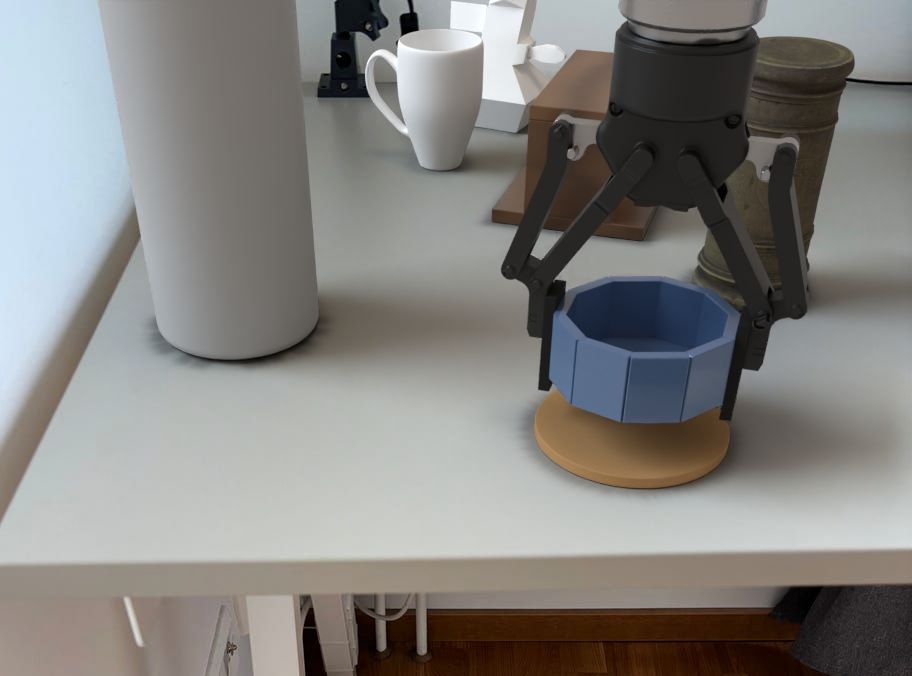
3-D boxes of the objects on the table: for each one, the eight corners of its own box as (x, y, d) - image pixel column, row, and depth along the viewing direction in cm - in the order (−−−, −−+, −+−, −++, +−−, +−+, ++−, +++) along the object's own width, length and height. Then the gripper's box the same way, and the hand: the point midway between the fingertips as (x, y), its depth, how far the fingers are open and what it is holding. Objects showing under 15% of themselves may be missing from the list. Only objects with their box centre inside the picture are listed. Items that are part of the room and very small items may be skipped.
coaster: (738, 402, 77) (740, 392, 76) (714, 504, 68) (716, 494, 67) (558, 373, 80) (559, 363, 79) (512, 467, 71) (512, 457, 70)
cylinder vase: (308, 366, 80) (275, -22, 63) (141, 362, 81) (64, -24, 64) (329, 291, 90) (304, -65, 73) (179, 288, 90) (120, -67, 73)
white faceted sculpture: (544, 141, 116) (554, -5, 107) (427, 122, 121) (427, -20, 112) (572, 118, 122) (584, -23, 113) (459, 100, 127) (461, -36, 117)
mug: (491, 155, 113) (495, 33, 106) (465, 182, 108) (467, 55, 100) (384, 141, 116) (381, 21, 109) (353, 167, 111) (347, 43, 103)
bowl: (735, 354, 74) (749, 287, 71) (712, 443, 66) (726, 371, 62) (574, 331, 76) (579, 265, 73) (532, 414, 68) (537, 343, 65)
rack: (673, 172, 110) (690, 59, 103) (641, 241, 97) (658, 117, 90) (539, 156, 113) (546, 46, 106) (491, 221, 100) (495, 101, 93)
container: (823, 289, 90) (884, 49, 78) (764, 325, 85) (820, 75, 73) (730, 257, 95) (775, 26, 82) (669, 289, 90) (707, 49, 78)
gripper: (452, 23, 57) (448, 394, 72) (927, 63, 51) (816, 456, 66) (492, -10, 62) (480, 342, 77) (926, 24, 57) (824, 396, 72)
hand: (635, 395), depth 72 cm, fingers closed on bowl, 11 cm apart
